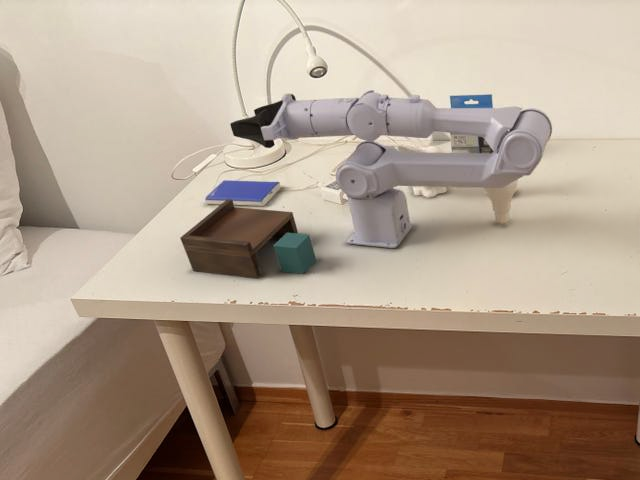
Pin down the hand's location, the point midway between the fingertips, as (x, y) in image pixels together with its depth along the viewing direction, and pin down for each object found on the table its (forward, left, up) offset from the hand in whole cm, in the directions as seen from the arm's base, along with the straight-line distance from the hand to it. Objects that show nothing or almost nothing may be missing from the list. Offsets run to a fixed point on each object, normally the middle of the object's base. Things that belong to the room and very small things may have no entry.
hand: (244, 122), depth 119 cm
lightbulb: (-41, -10, -21) cm, 46 cm away
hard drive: (+14, -12, -21) cm, 28 cm away
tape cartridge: (-27, -36, -21) cm, 49 cm away
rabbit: (-23, -20, -21) cm, 36 cm away
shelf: (+1, +8, -20) cm, 22 cm away
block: (-11, +10, -20) cm, 25 cm away
